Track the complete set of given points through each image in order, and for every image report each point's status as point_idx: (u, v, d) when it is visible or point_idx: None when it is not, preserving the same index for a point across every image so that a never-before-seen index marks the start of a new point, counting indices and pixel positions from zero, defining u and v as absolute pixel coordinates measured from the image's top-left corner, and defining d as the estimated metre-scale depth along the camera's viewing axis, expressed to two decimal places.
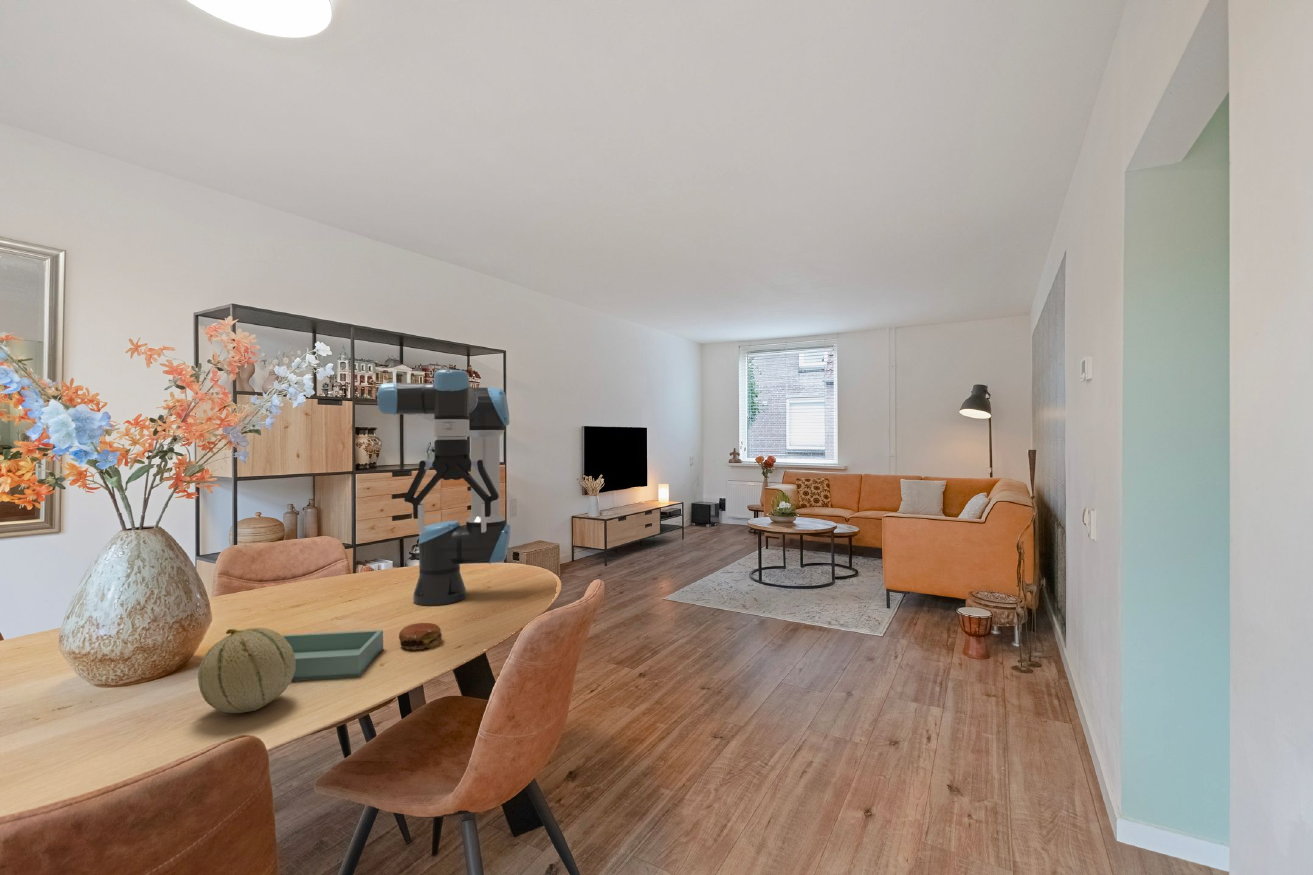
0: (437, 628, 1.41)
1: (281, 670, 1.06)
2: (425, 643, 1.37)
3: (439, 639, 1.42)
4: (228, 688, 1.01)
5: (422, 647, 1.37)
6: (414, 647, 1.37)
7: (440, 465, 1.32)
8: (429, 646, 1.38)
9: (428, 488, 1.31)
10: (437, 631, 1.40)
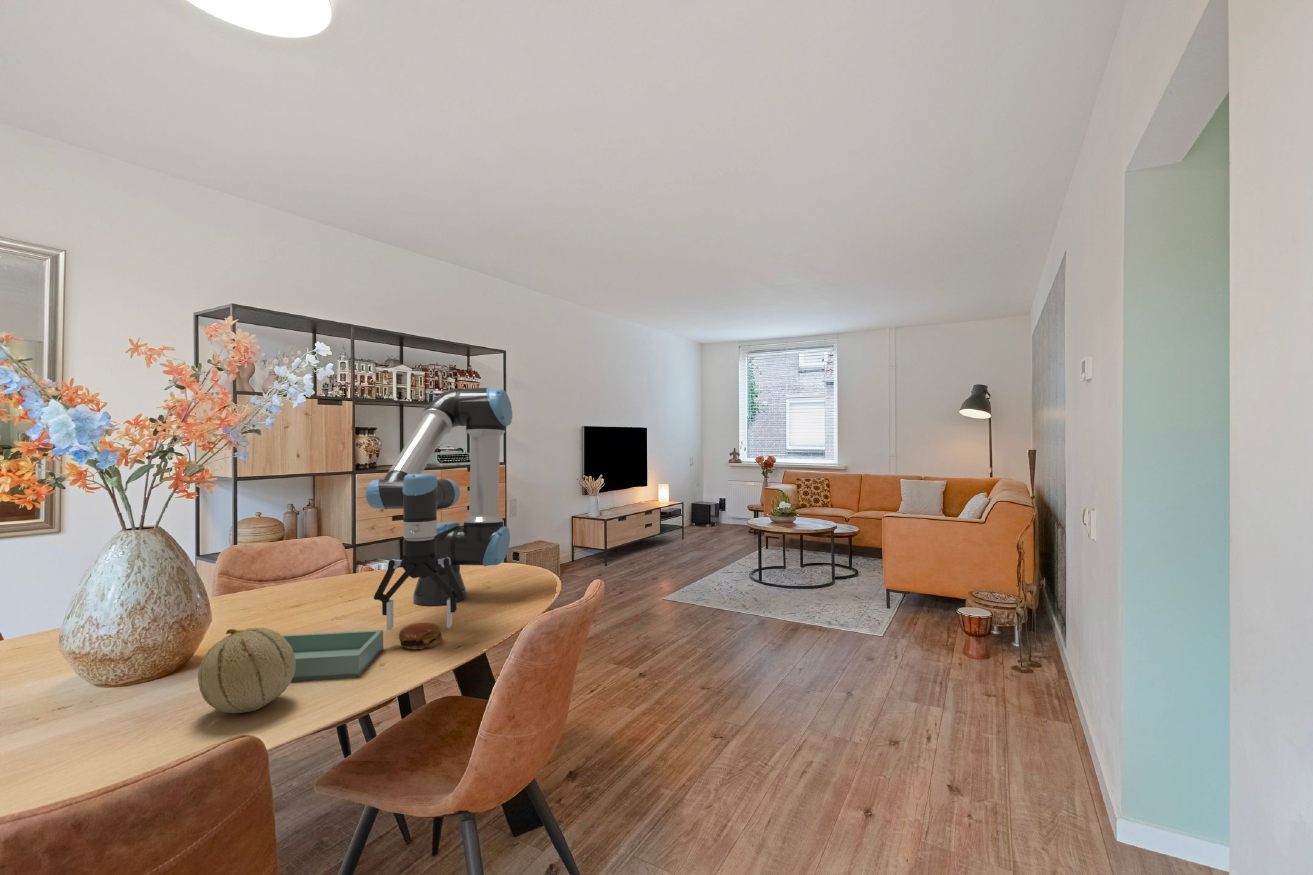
0: (437, 628, 1.41)
1: (281, 670, 1.06)
2: (425, 643, 1.37)
3: (439, 639, 1.42)
4: (228, 688, 1.01)
5: (422, 647, 1.37)
6: (414, 647, 1.37)
7: (408, 564, 1.40)
8: (429, 646, 1.38)
9: (396, 586, 1.39)
10: (437, 631, 1.40)
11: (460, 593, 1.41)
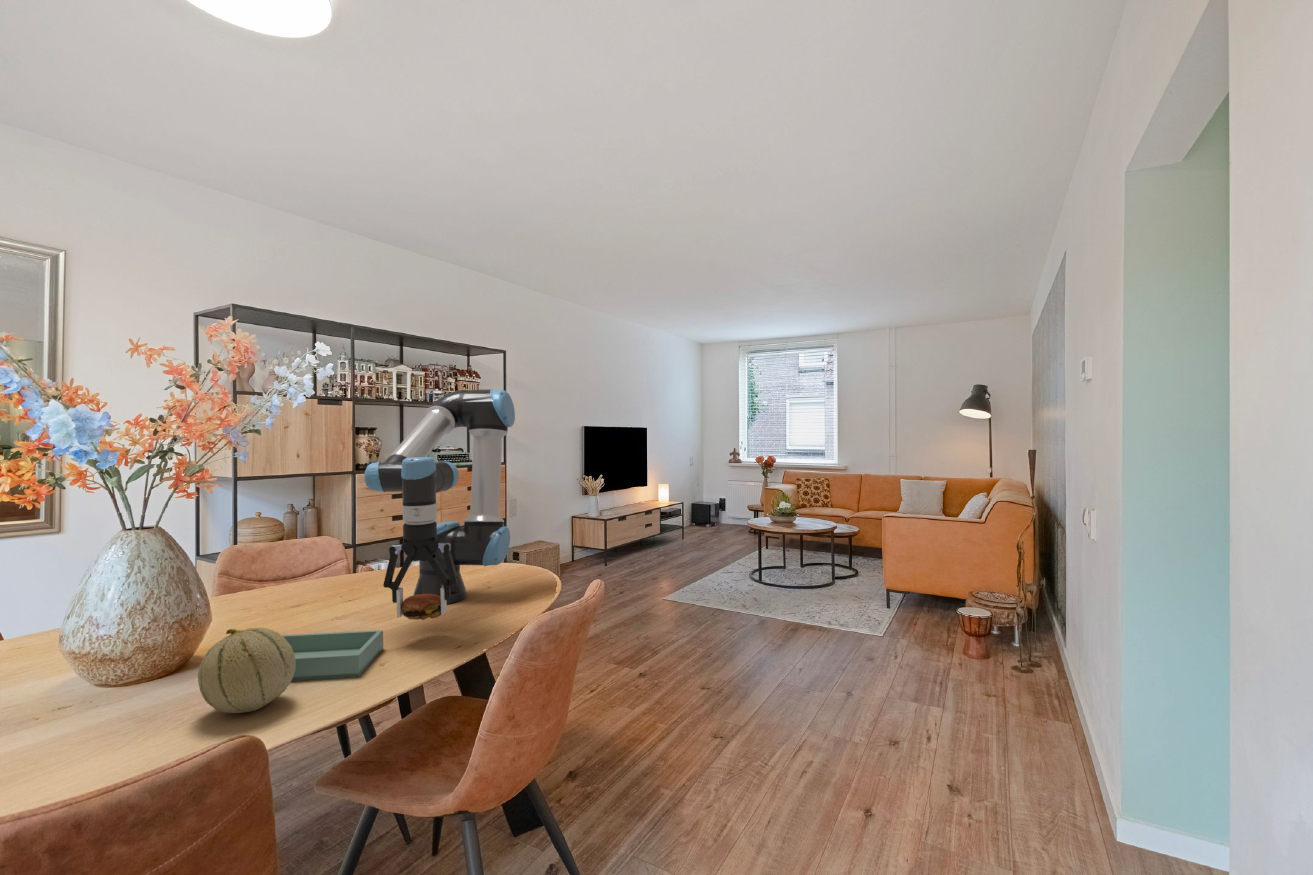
0: (439, 599, 1.42)
1: (281, 670, 1.06)
2: (427, 613, 1.38)
3: None
4: (228, 688, 1.01)
5: (424, 617, 1.38)
6: (416, 617, 1.38)
7: (409, 547, 1.40)
8: (431, 616, 1.39)
9: (403, 572, 1.40)
10: (439, 602, 1.41)
11: (454, 581, 1.41)
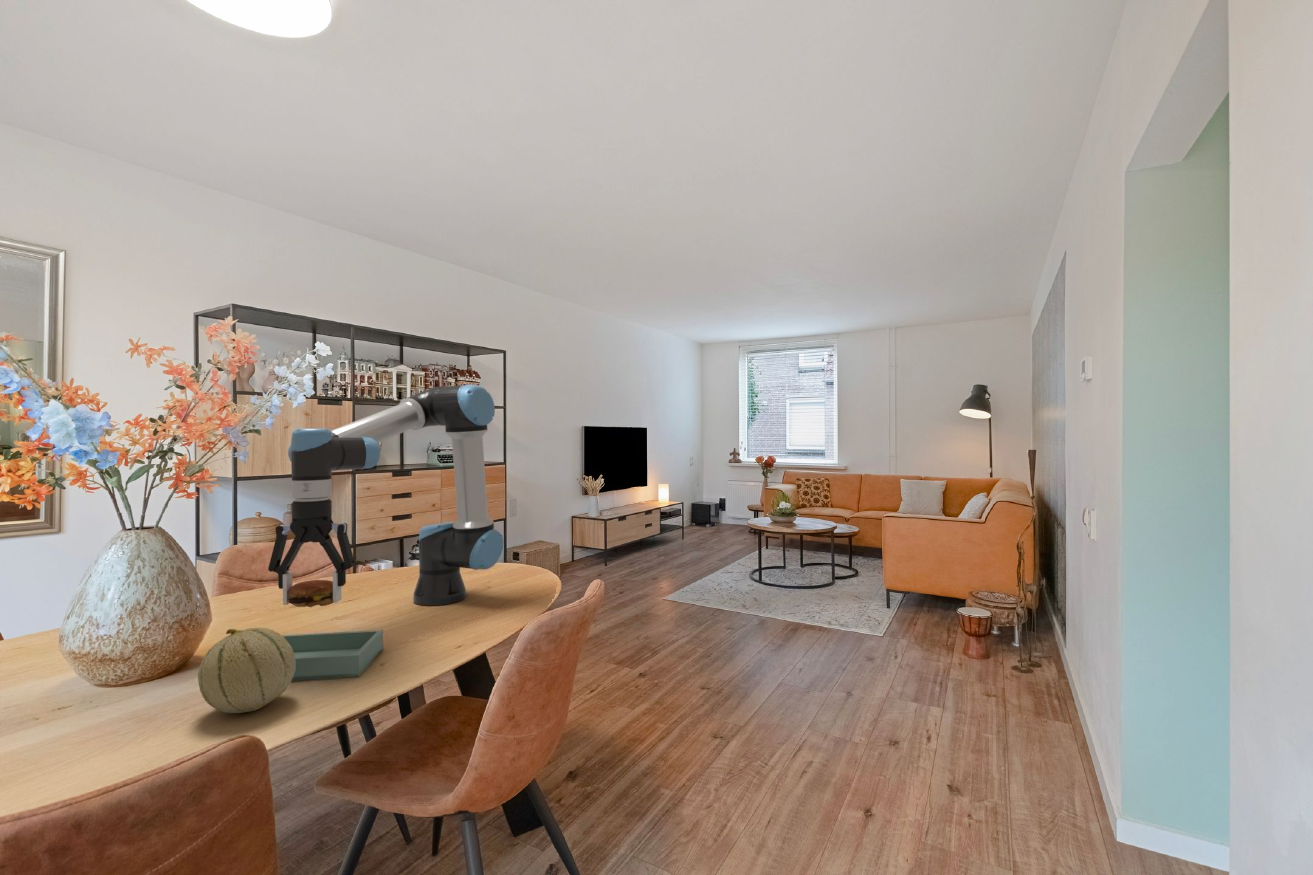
0: (332, 585, 1.29)
1: (281, 670, 1.06)
2: (315, 600, 1.25)
3: None
4: (228, 688, 1.01)
5: (312, 604, 1.25)
6: (303, 604, 1.24)
7: (298, 526, 1.27)
8: (320, 604, 1.26)
9: (290, 554, 1.26)
10: (331, 588, 1.28)
11: (348, 565, 1.28)
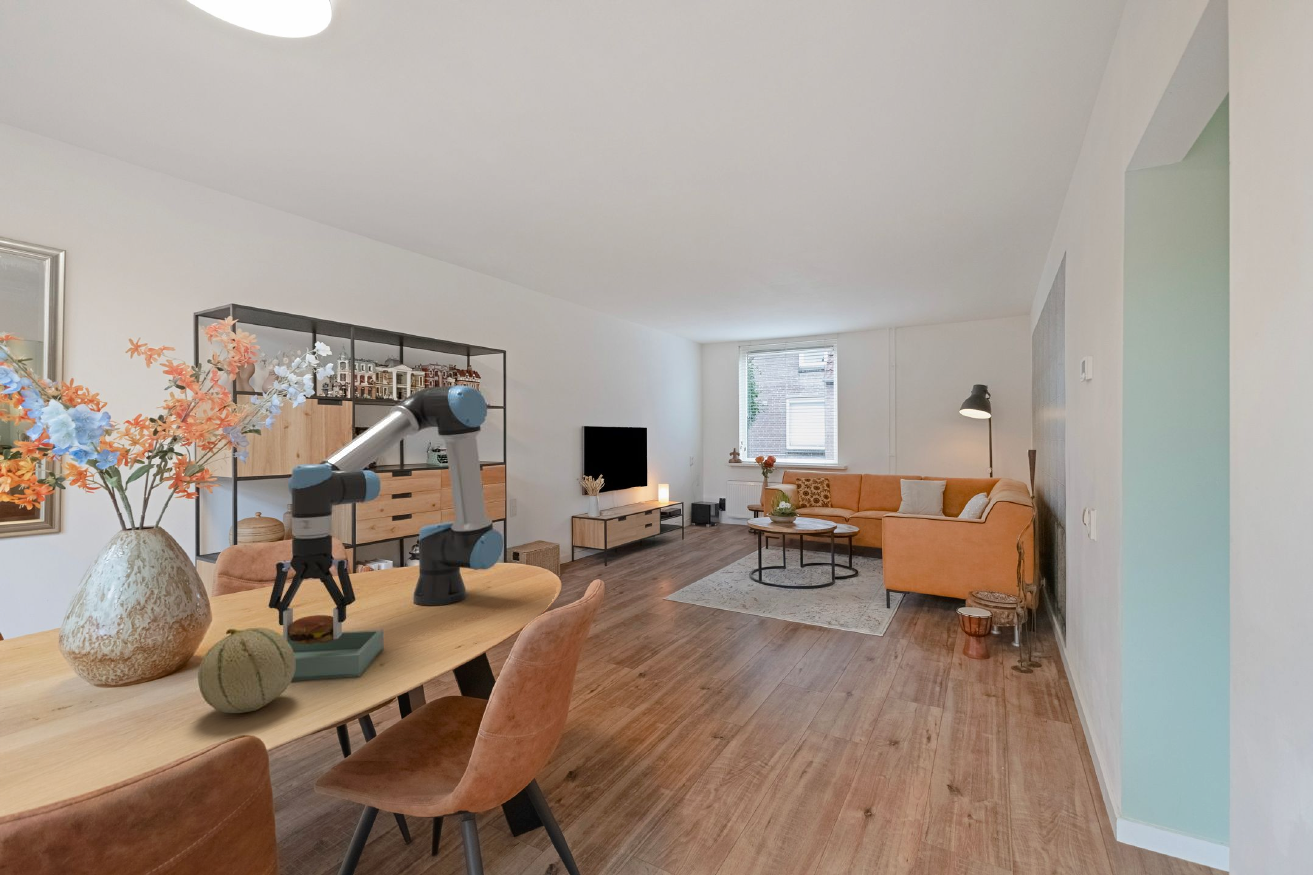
0: (332, 621, 1.29)
1: (281, 670, 1.06)
2: (316, 637, 1.25)
3: None
4: (228, 688, 1.01)
5: (312, 641, 1.25)
6: (303, 641, 1.24)
7: (298, 563, 1.27)
8: (321, 640, 1.26)
9: (291, 591, 1.27)
10: (331, 624, 1.28)
11: (348, 601, 1.28)
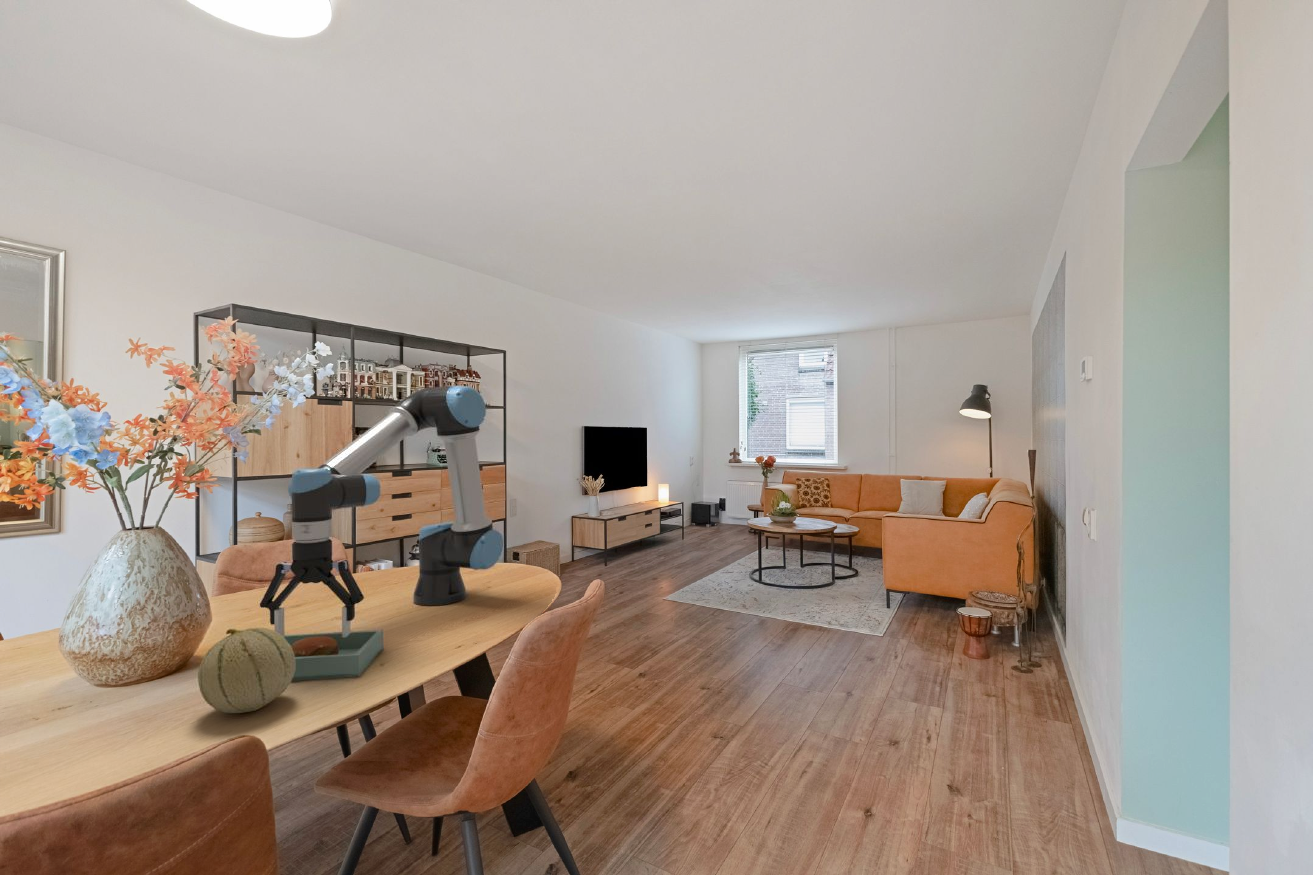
0: (332, 643, 1.29)
1: (281, 670, 1.06)
2: None
3: None
4: (228, 688, 1.01)
5: None
6: None
7: (298, 568, 1.27)
8: None
9: (285, 592, 1.26)
10: (331, 646, 1.28)
11: (357, 600, 1.28)
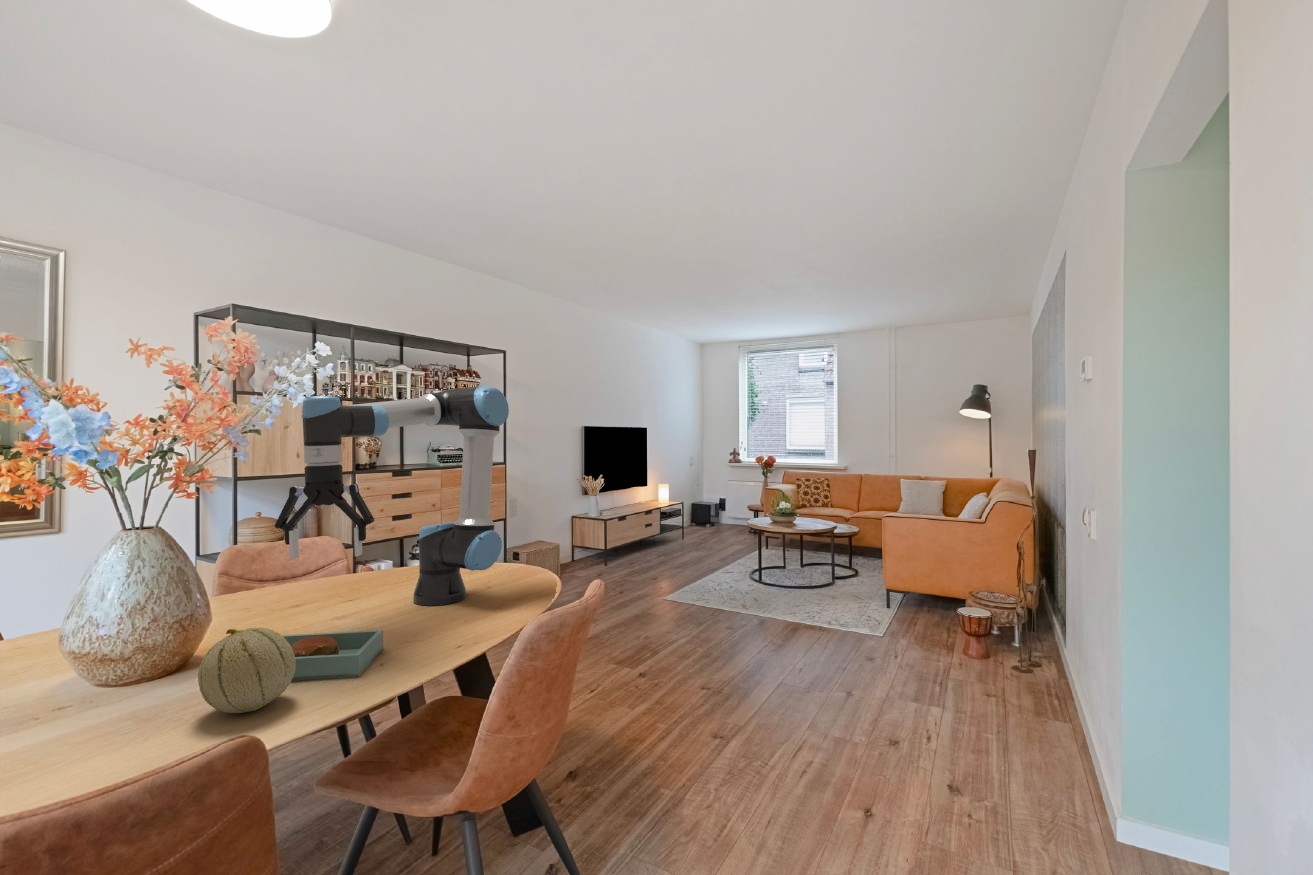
0: (332, 643, 1.29)
1: (281, 670, 1.06)
2: None
3: None
4: (228, 688, 1.01)
5: None
6: None
7: (311, 491, 1.33)
8: None
9: (299, 514, 1.32)
10: (331, 646, 1.28)
11: (368, 521, 1.35)
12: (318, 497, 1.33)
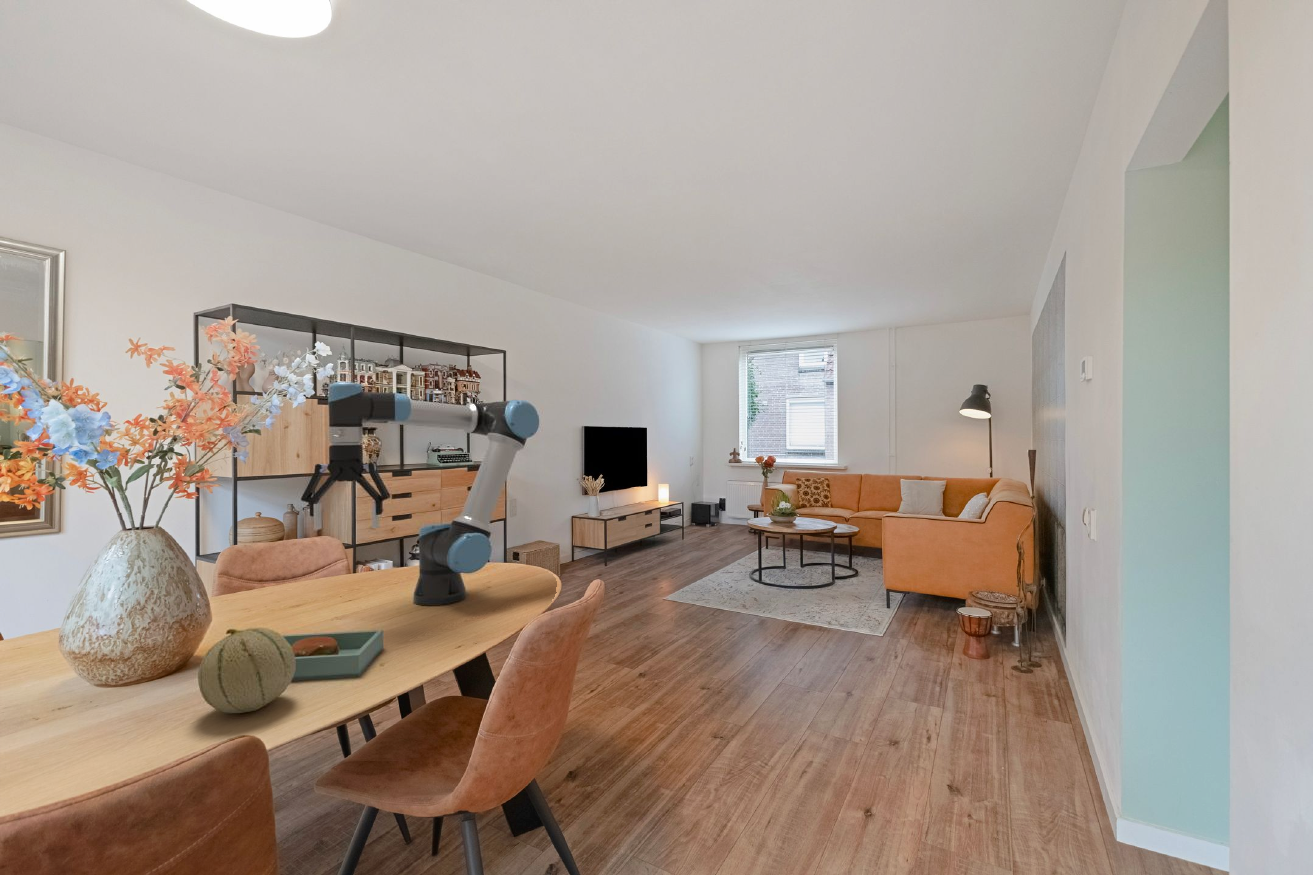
0: (332, 643, 1.29)
1: (281, 670, 1.06)
2: None
3: None
4: (228, 688, 1.01)
5: None
6: None
7: (334, 468, 1.47)
8: None
9: (323, 489, 1.46)
10: (331, 646, 1.28)
11: (385, 496, 1.48)
12: (340, 474, 1.47)
